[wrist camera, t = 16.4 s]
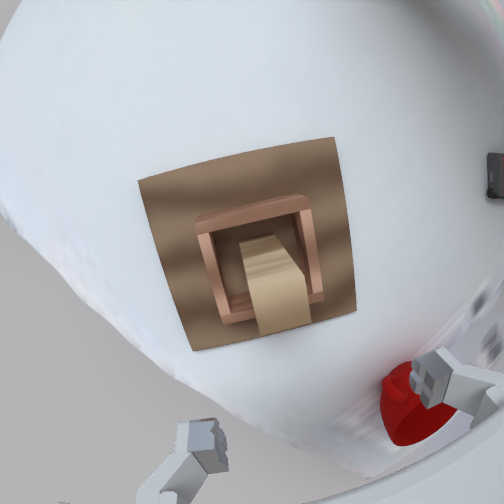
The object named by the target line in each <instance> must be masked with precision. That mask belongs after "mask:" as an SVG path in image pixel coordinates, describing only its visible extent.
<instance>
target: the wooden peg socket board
mask: <svg viewBox="0 0 504 504" xmlns="http://www.w3.org/2000/svg"><path fill="white" fill-rule="evenodd" d="M138 184H139V188H140V192H141V196H142V200H143V203H144V207H145V211H146V214H147V218H148V221H149V225H150V228H151V232H152V235H153V239H154V242H155V245H156V249H157V252H158V255H159V258H160V261H161V265H162V268H163V271H164V274H165V277H166V280H167V283H168V286H169V289H170V292H171V294H172V297H173V300H174V303H175V306H176V309H177V311H178V314H179V317H180V319H181V322H182V325H183V327H184V330H185V333H186V335H187V338H188V340H189V343H190V346H191V348H192V351H198V350H203V349H208V348H213V347H218V346H223V345H228V344H232V343H237V342H241V341H246V340H250V339H254V338H259V337H263V336H267V335H271V334H275V333H279V332H283V331H287V330H291V329H295V328H298V327H302V326H306V325H309V324H313V323H317V322H320V321H324V320H327V319H330V318H334V317H337V316H340V315H344V314H347V313H350V312H353V311H357V308H356V292H355V279H354V267H353V257H352V247H351V239H350V230H349V222H348V215H347V208H346V201H345V194H344V188H343V182H342V176H341V170H340V164H339V159H338V154H337V149H336V144H335V139H334V137H329V138H322V139H315V140H309V141H303V142H297V143H291V144H285V145H279V146H274V147H269V148H264V149H259V150H254V151H249V152H244V153H240V154H235V155H231V156H226V157H222V158H218V159H214V160H209V161H205V162H201V163H198V164H194V165H190V166H186V167H182V168H179V169H175V170H172V171H168V172H164V173H161V174H158V175H154V176H151V177H148V178H144V179H141V180H138ZM272 232H273V233H274V235H275V236H276V238H277V239H278V240H279V242H280V243H281V244H282V246H283V247H284V248H285V250H286V251H287V252H288V254H289V255H290V257H291V258H292V259H293V261H294V262H295V263H296V265H297V266H298V268H299V269H300V270H301V272H302V273H303V274H304V276H305V283H306V289H307V295H308V302H309V308H310V315H311V322H312V323H308V324H305V325H301V326H297V327H294V328H290V329H286V330H282V331H278V332H274V333H270V334H266V335H262V336H261V335H260V331H259V327H258V323H257V319H256V315H255V311H254V307H253V303H252V299H251V295H250V291H249V287H248V282H247V277H246V273H245V268H244V264H243V259H242V254H241V250H240V245H239V240H243V239H247V238H251V237H255V236H260V235H264V234H268V233H272Z"/></svg>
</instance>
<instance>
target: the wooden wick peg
mask: <svg viewBox="0 0 504 504" xmlns="http://www.w3.org/2000/svg"><path fill="white" fill-rule="evenodd" d="M239 245H240V250H241V254H242V259H243V264H244V268H245V273H246V277H247V282H248V287H249V291H250V295H251V299H252V303H253V307H254V311H255V315H256V319H257V323H258V327H259V331H260V335H261V336H262V335H266V334H270V333H274V332H278V331H282V330H286V329H290V328H294V327H297V326H301V325H305V324H308V323H312V322H311V315H310V308H309V302H308V295H307V289H306V283H305V276H304V274H303V273H302V272H301V270H300V269H299V268H298V266H297V265H296V263H295V262H294V261H293V259H292V258H291V257H290V255H289V254H288V252H287V251H286V250H285V248H284V247H283V246H282V244H281V243H280V242H279V240H278V239H277V238H276V236H275V235H274V233H273V232H272V233H268V234H264V235H260V236H255V237H251V238H247V239H243V240H239Z"/></svg>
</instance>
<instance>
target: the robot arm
mask: <svg viewBox="0 0 504 504" xmlns="http://www.w3.org/2000/svg"><path fill="white" fill-rule="evenodd" d="M411 367H412V368H413V370H412V372H411V373H410V376H409V382H410V386H411V388H412V390H413V391H414V393H416V394H419V395H420V401H421V402H422V403H423V405H424V406H425V407H426V409H429V408H431V407H433V406H435V405H437V404H439V403H441V402H443V403H445V404H447V405H450V406H452V407H454V408H456V409H459V410H461V411H463V412H465V413H468V414H470V415H472V416H475V417H474V419H473V421H472V423H471V425H470V428H471V430H470V431H469V432H467V433H465V434H464V435H462V436H461V437H459V438H458V439H456V440H454V441H453V442H451V443H450V444H448V445H446V446H445V447H443V448H441V449H440V450H438V451H436V452H434V453H432V454H431V455H429V456H427V457H425V458H423V459H421V460H420V461H417V462H415V463H413V464H411V465H409V466H407V467H405V468H403V469H401V470H399V471H397V472H395V473H392V474H390V475H388V476H386V477H383V478H381V479H378V480H376V481H373V482H371V483H368V484H365V485H363V486H360V487H357V488H355V489H352V490H349V491H346V492H343V493H340V494H336V495H333V496H330V497H326V498H323V499H319V500H315V501H312V502H308V503H304V504H504V373H500V372H495V371H491V370H487V369H483V368H478V367H474V366H470V365H466V364H465V365H462V364H461V363H460V362H459V361H457V359H456V358H455V357H454V356H453V355H452V354H451V353H450V352H449V351H448V350H446V349H445V348H444V347H442V346H440V347H438V348H436V349H434V350H432V351H430V352H428V353H426V354H424V355H422V356H420V357H417V358H415V359H413V361H412V363H411ZM226 451H227V442H226V437H225V434H224V432H223V430H222V429H221V428H219V422H218V420H217V418H209V419H200V420H191V421H181V422H179V423H178V425H177V432H176V440H175V450H174V453H171V454H170V455H169V456H168V457H167V458H166V459H165V461H164V462H163V463H162V464H161V465H160V466H159V467H158V468H157V469H156V471H155V472H154V473H153V474H152V475H151V476H150V477H149V478H148V479H147V480H146V481H145V482H144V484H143V485H142V486H141V487H140V488H139V489H138V492H137V498H136V504H190V503H191V502H192V500H193V498H194V497H195V495H196V494H197V492H198V490H199V489H200V487H201V486H202V484H203V482H204V481H205V479H206V478H207V476H208V474H212V473H219V472H227V471H229V470H228V458H227V456H226V454H225V452H226ZM54 504H69V503H65V502H56V503H54Z"/></svg>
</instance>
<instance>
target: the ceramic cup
mask: <svg viewBox="0 0 504 504" xmlns="http://www.w3.org/2000/svg"><path fill="white" fill-rule="evenodd" d="M411 363H412V361H408V362H405V363H402V364H400V365H399V366H397V367H396V368H395V369H394V370H392V371H391V373H390V374H389V375H388V376H386V377H385V378H384V379H383V380H382V387H383V390H382V393H381V399H380V410H381V415H382V419H383V423H384V425H385V428H386V430H387V433H388V435H389V437H390V439H391V441H392V442H393V443H394V444H395V445H397V446H409V445H412V444H415V443H417V442H420V441H422V440H424V439H426V438H427V437H429V436H430V435H432V434H433V433H435V432H436V431H437V430H439V429H440V428H441V427H442V426H443V425H444V424H446V422H447V421H448V420H449V419H450V418H451V417H452V416H453V415H454V413H455V412H456V411H457V409H456V408H454V407H452V406H450V405H447V404H445V403H443V402H441V403H439V404H437V405H435V406H433V407H431V408H429V409H426V407H425V406H424V405H423V403H422V402H421V401H420V395H419V394H416V393H414V391H413V390H412V388H411V386H410V382H409V376H410V373H411V372H412V370H413V368H412V367H411Z"/></svg>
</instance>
